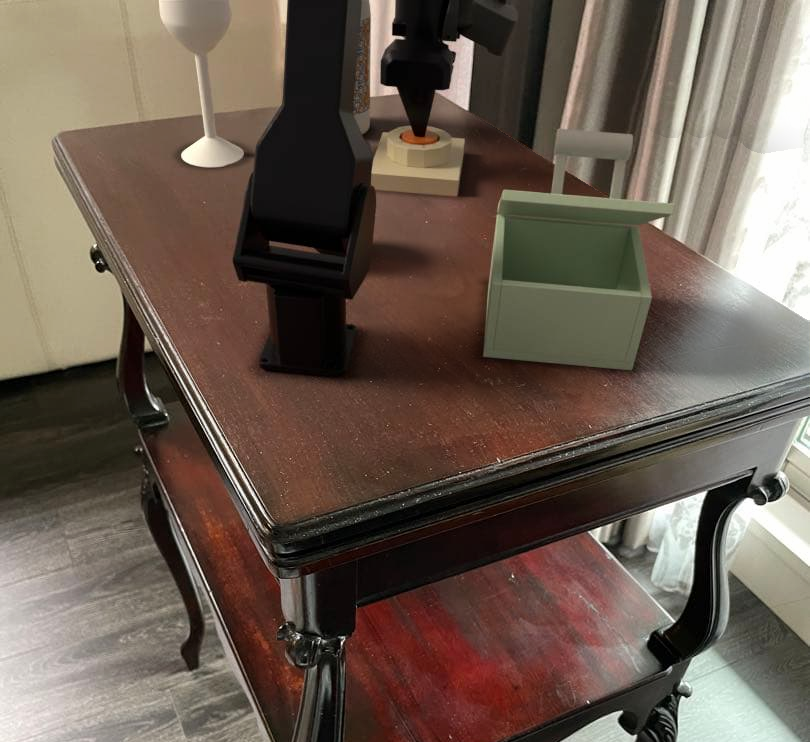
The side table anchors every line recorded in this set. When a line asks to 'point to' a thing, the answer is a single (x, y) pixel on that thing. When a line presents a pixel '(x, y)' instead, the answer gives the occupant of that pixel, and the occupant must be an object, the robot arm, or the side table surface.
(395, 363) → the side table surface
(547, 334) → the compartment
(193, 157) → the champagne flute
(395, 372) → the side table surface
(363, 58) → the bath foam
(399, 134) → the control block
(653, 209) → the compartment lid
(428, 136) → the button
